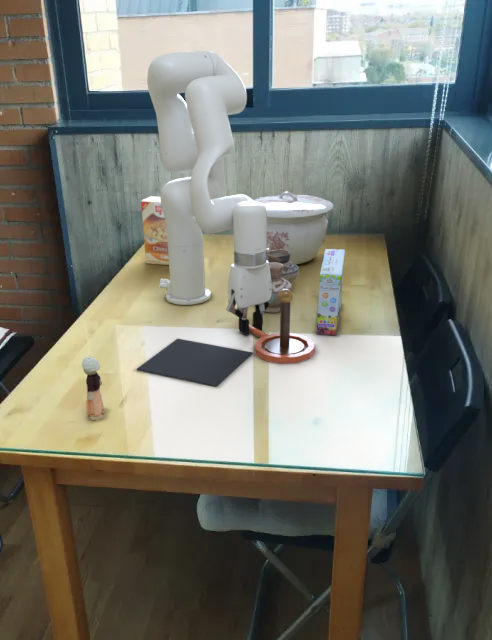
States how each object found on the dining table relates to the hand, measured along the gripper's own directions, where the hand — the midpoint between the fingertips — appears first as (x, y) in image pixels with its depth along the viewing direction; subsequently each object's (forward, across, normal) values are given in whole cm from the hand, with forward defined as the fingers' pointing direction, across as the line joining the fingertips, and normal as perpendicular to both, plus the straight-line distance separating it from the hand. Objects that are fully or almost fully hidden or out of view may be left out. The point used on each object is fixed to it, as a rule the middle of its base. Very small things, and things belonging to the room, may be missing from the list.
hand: (250, 330), depth 169 cm
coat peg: (0, 0, +14) cm, 14 cm away
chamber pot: (+1, -42, -41) cm, 59 cm away
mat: (0, +20, +6) cm, 21 cm away
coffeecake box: (+1, -12, -62) cm, 63 cm away
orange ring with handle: (0, 0, +9) cm, 9 cm away
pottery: (+1, -18, -14) cm, 24 cm away
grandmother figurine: (+1, +48, +16) cm, 51 cm away
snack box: (+1, -21, +5) cm, 21 cm away
